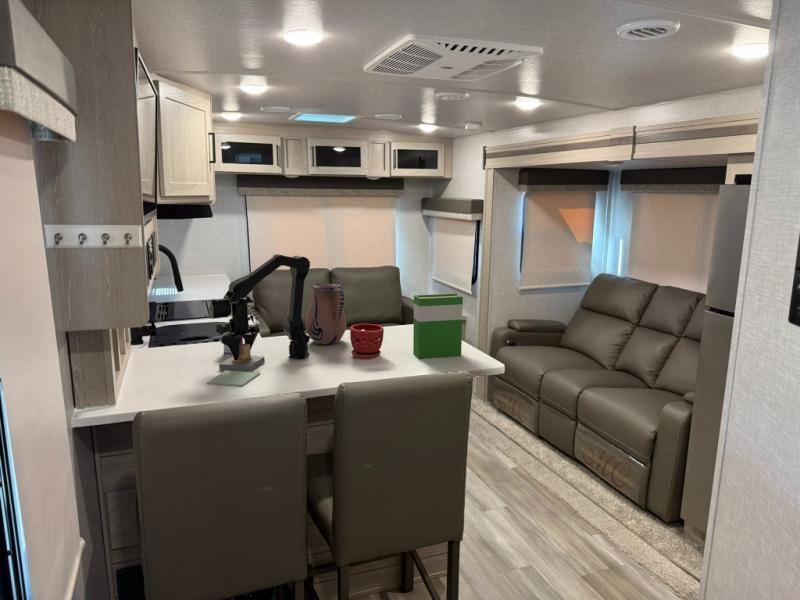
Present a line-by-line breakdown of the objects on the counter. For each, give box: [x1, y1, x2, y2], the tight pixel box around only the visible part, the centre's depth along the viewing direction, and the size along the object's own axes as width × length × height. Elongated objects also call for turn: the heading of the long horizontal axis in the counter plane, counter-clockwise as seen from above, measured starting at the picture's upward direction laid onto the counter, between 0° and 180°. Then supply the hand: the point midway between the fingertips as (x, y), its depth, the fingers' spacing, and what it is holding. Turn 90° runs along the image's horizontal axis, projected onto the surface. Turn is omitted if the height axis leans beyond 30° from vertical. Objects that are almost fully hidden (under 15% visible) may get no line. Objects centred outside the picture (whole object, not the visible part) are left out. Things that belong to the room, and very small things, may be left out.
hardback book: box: [412, 293, 464, 360], centre depth 215 cm, size 18×7×24 cm, turn 104°
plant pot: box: [349, 323, 385, 360], centre depth 214 cm, size 13×13×12 cm
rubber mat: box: [206, 370, 261, 387], centre depth 188 cm, size 13×13×1 cm
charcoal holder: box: [218, 355, 266, 372], centre depth 202 cm, size 12×12×2 cm
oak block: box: [234, 343, 252, 363], centre depth 202 cm, size 4×4×8 cm
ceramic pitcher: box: [305, 283, 347, 345], centre depth 232 cm, size 18×21×25 cm
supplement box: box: [222, 332, 244, 355], centre depth 219 cm, size 6×6×12 cm
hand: (242, 356), depth 202 cm, fingers open, 9 cm apart
